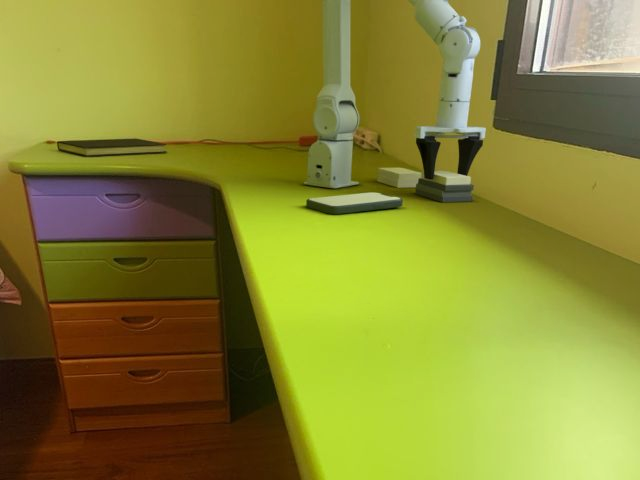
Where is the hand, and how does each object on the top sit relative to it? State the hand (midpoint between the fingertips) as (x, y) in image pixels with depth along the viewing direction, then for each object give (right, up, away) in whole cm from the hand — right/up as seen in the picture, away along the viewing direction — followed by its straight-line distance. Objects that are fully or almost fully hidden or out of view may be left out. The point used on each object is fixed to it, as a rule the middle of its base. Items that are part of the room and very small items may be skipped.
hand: (445, 178), depth 134 cm
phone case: (-18, -10, -12) cm, 24 cm away
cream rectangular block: (-7, +4, +16) cm, 18 cm away
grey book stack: (0, -3, +2) cm, 3 cm away
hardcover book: (-80, +25, +50) cm, 97 cm away
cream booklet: (0, 0, 0) cm, 0 cm away
